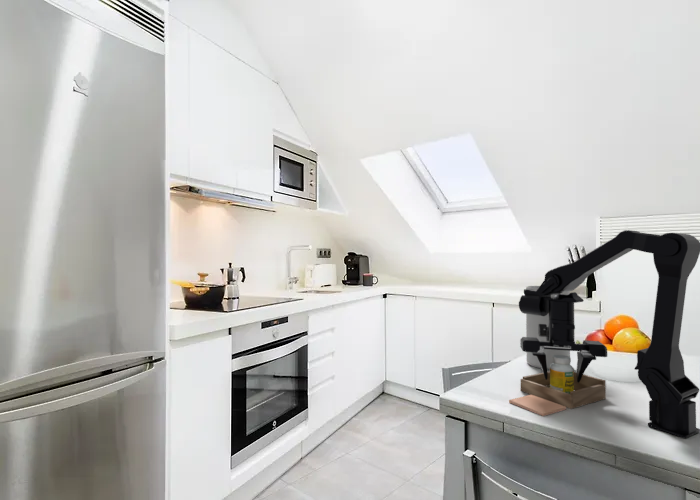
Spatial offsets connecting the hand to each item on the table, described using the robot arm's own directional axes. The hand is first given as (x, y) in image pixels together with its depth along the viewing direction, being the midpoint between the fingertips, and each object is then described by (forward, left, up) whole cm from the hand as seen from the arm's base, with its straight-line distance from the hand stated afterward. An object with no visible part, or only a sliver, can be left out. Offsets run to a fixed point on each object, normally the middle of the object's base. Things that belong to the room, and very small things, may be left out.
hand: (561, 380), depth 99 cm
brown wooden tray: (0, 0, -4) cm, 4 cm away
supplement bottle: (0, 0, -4) cm, 4 cm away
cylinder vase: (+19, -21, -4) cm, 29 cm away
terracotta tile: (-2, +12, -4) cm, 13 cm away
